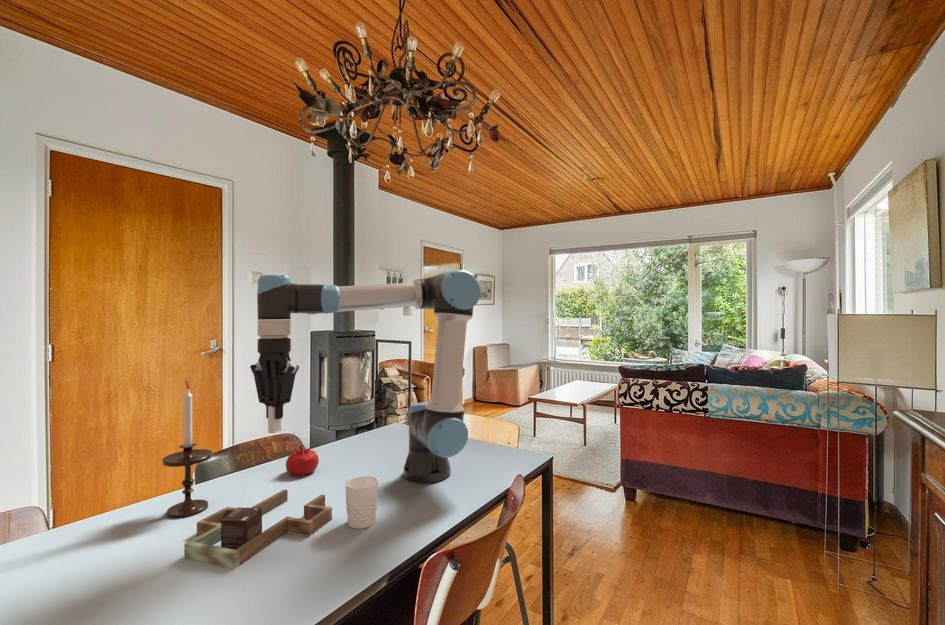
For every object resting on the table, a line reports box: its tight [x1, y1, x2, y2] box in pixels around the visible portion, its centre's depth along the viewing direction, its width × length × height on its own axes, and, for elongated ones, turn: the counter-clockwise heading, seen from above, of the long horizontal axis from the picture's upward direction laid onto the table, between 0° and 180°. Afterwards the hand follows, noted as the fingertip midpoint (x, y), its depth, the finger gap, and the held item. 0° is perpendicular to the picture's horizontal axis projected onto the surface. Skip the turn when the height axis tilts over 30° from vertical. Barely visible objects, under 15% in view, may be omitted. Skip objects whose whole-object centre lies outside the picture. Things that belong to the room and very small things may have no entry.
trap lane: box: [183, 489, 333, 570], centre depth 100 cm, size 26×29×3 cm
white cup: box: [344, 475, 379, 530], centre depth 104 cm, size 8×8×10 cm
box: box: [220, 506, 263, 550], centre depth 93 cm, size 6×6×7 cm
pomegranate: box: [285, 444, 320, 477], centre depth 137 cm, size 10×10×9 cm
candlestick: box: [162, 378, 213, 519], centre depth 111 cm, size 11×11×35 cm
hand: (274, 431), depth 104 cm, fingers closed
